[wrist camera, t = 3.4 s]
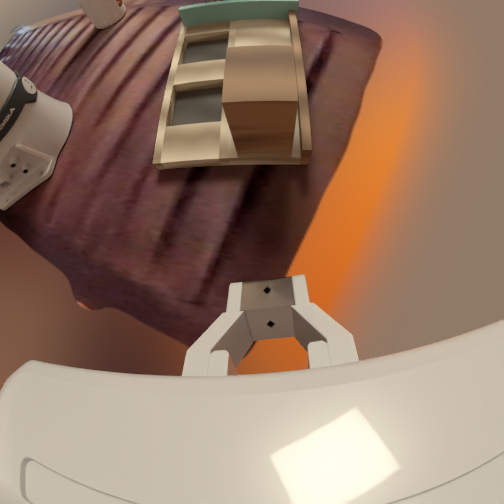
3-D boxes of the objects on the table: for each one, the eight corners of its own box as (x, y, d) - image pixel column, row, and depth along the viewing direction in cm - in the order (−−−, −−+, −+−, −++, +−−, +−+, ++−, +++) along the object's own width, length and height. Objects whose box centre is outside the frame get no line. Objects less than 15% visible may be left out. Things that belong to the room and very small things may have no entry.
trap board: (307, 164, 31) (312, 150, 27) (158, 169, 32) (145, 157, 28) (294, 27, 33) (295, 10, 29) (184, 34, 35) (178, 19, 31)
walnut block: (291, 153, 29) (298, 100, 19) (237, 153, 30) (221, 102, 20) (289, 102, 30) (292, 45, 20) (239, 103, 30) (226, 47, 20)
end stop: (297, 27, 33) (298, 1, 27) (187, 34, 35) (178, 10, 29) (296, 24, 33) (298, -2, 28) (188, 31, 35) (179, 7, 29)
